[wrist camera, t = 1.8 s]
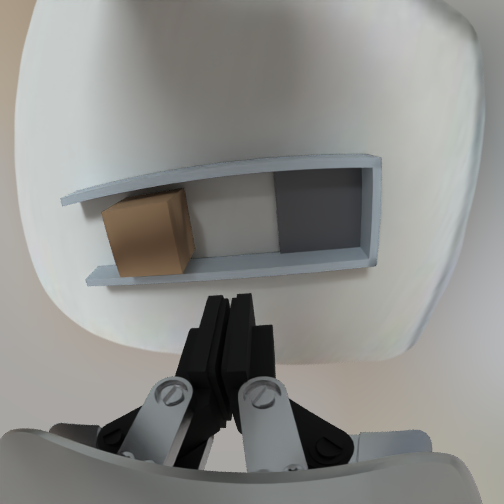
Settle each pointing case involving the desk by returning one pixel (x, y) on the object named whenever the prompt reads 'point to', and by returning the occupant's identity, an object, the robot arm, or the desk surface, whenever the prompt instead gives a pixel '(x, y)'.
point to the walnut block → (150, 234)
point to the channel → (280, 217)
